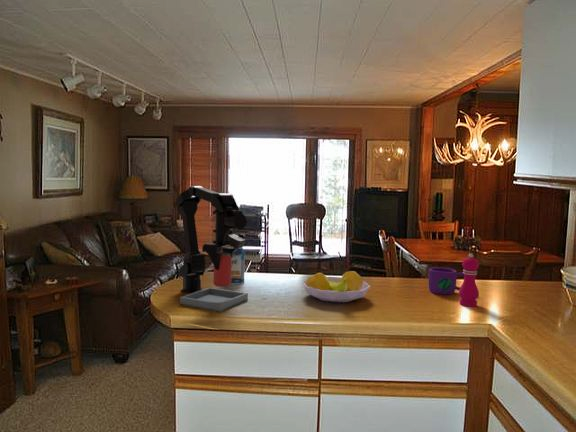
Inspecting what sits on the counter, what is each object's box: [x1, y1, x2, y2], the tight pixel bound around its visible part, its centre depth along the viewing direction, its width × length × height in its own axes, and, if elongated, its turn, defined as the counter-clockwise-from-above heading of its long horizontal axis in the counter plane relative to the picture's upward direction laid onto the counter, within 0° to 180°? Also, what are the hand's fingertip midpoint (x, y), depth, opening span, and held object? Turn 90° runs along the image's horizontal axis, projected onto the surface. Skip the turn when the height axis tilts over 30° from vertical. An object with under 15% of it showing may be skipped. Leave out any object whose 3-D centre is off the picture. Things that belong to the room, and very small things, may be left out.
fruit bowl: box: [302, 270, 371, 304], centre depth 178 cm, size 28×27×11 cm
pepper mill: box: [458, 253, 480, 308], centre depth 174 cm, size 7×7×20 cm
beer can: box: [213, 253, 232, 288], centre depth 169 cm, size 7×7×12 cm
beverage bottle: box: [231, 247, 246, 285], centre depth 201 cm, size 8×8×20 cm
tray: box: [179, 287, 249, 313], centre depth 169 cm, size 18×18×3 cm
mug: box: [428, 266, 464, 296], centre depth 192 cm, size 17×11×10 cm, turn 83°
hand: (222, 268), depth 169 cm, fingers closed on beer can, 7 cm apart
